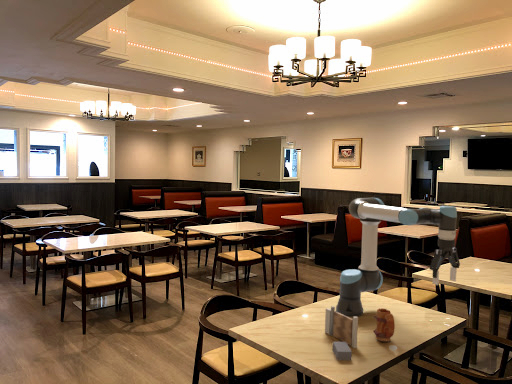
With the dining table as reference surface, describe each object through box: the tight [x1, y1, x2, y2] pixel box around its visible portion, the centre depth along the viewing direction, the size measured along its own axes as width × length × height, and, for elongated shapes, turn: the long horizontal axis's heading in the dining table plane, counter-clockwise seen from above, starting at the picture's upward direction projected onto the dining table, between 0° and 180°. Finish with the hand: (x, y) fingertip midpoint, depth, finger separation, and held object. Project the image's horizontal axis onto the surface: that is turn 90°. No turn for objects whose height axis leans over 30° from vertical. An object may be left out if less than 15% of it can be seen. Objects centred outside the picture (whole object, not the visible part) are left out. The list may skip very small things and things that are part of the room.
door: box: [332, 310, 353, 346], centre depth 195 cm, size 12×3×12 cm, turn 31°
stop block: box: [332, 341, 353, 361], centre depth 181 cm, size 10×6×4 cm, turn 1°
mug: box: [372, 308, 396, 343], centre depth 195 cm, size 15×8×15 cm, turn 5°
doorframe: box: [324, 306, 359, 349], centre depth 196 cm, size 20×2×14 cm, turn 31°
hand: (444, 282), depth 198 cm, fingers open, 13 cm apart
